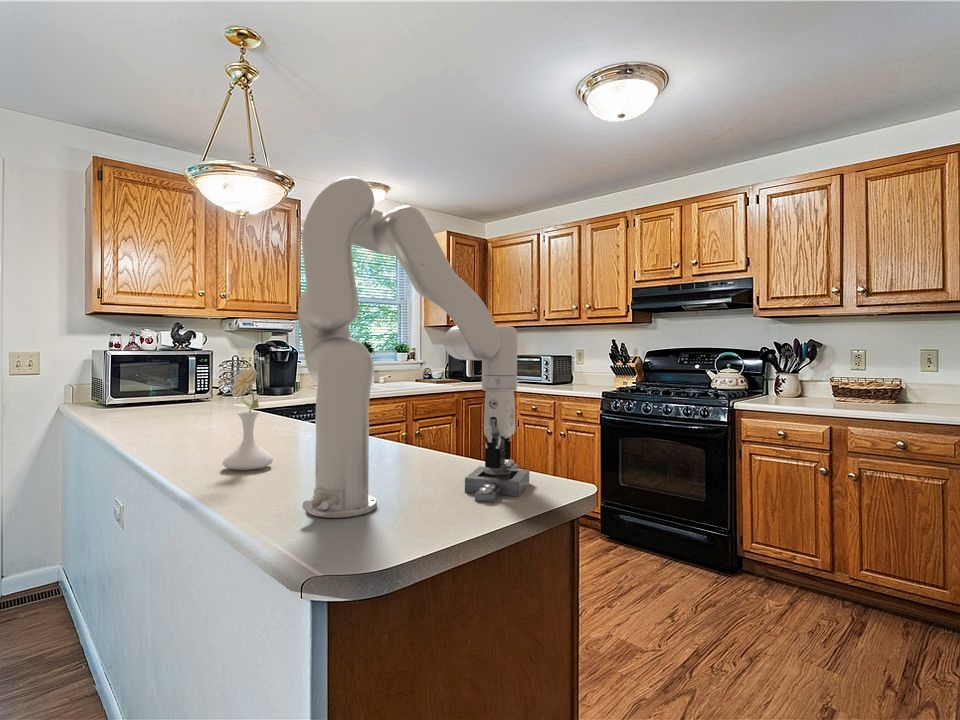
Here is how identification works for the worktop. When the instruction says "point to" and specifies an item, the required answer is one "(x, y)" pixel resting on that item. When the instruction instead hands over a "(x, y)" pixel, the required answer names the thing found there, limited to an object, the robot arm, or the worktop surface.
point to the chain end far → (515, 483)
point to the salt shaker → (502, 471)
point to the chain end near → (493, 491)
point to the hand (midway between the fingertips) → (498, 463)
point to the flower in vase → (247, 429)
